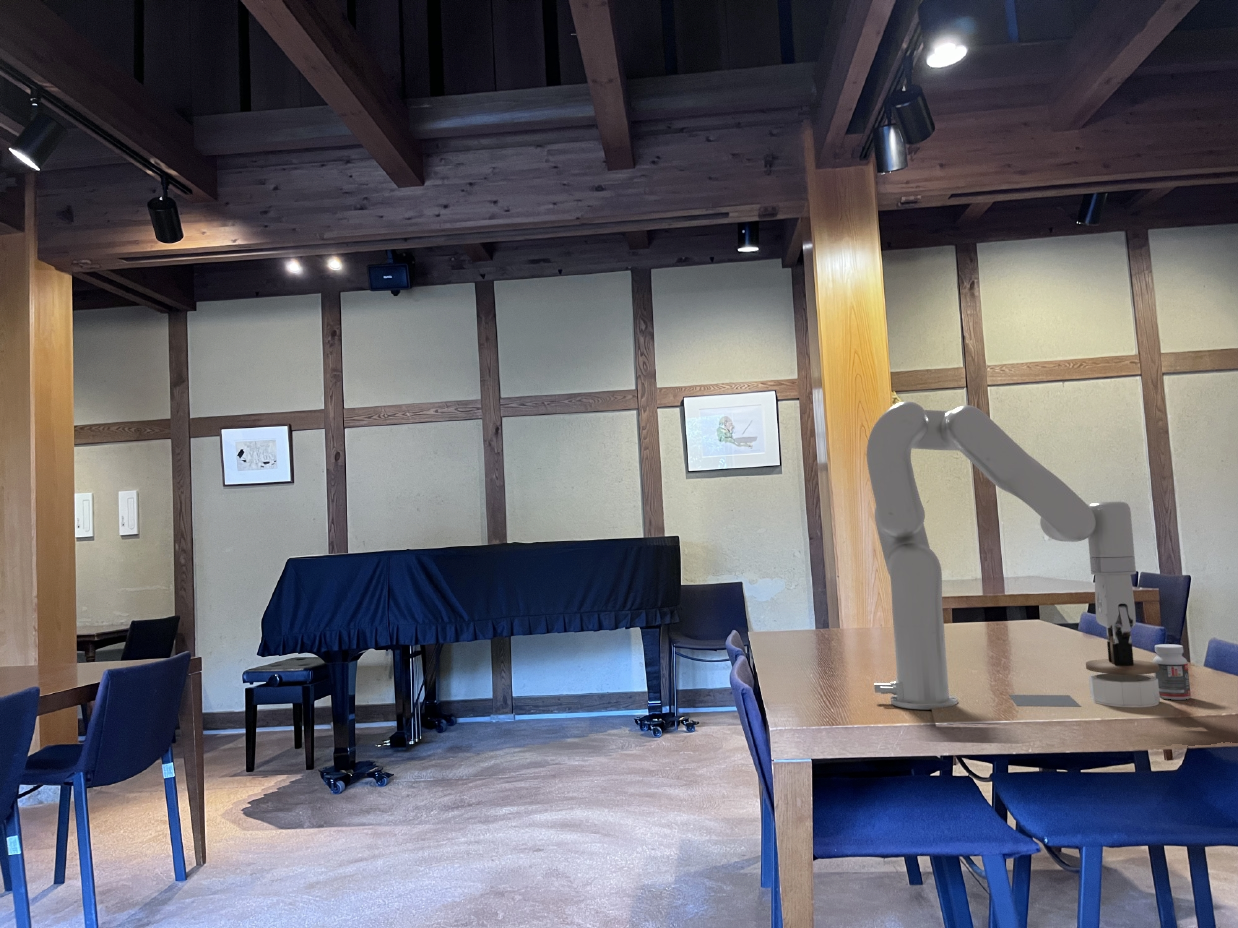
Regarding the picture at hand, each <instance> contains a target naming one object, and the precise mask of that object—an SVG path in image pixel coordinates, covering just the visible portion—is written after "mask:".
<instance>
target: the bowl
mask: <svg viewBox="0 0 1238 928" xmlns="http://www.w3.org/2000/svg"><path fill="white" fill-rule="evenodd" d="M1088 682H1089V683H1088V684H1089V695H1090V696H1089V697H1090V698H1091V701H1092V702H1093V703H1095V704H1099V705H1102V706H1110V707H1119V708H1151V707H1155V706H1157V705H1159V704H1160V701H1161V698H1160V696H1159V685H1158V679H1157V678H1156V677H1154V675H1151V674H1150V675H1149V674H1137V675H1125V674H1108V673H1099V672H1096V673H1092V674H1090V675H1088Z"/></svg>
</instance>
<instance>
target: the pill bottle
mask: <svg viewBox="0 0 1238 928" xmlns="http://www.w3.org/2000/svg"><path fill="white" fill-rule="evenodd" d="M1154 651H1155V653H1156V656H1155V657H1154V658H1153V659H1152V662H1153V663H1156V664H1158V665H1159V671H1158V672H1156V673H1153V674H1154V675H1153V676H1154V677H1156V678H1157V679H1158V685H1159V696H1160V699H1162V700H1168V699H1171V701H1185V700H1186V699H1187V700H1189V699H1191V696H1192V695H1191V686H1190V685H1191V684H1190V675H1189V665H1188V660H1187V658H1185V657H1184V656H1183V653H1184V646H1183V645H1181V644H1169V643H1166V644H1164V643H1162V644H1155V645H1154Z"/></svg>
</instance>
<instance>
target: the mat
mask: <svg viewBox="0 0 1238 928" xmlns="http://www.w3.org/2000/svg"><path fill="white" fill-rule="evenodd" d="M1008 696H1009V697H1010V699H1011V700H1012V701H1013V703H1014V704H1015V705H1016V707H1055V708H1056V707H1060V708H1062V707H1063V708H1064V707H1067V708H1068V707H1069V708H1071V707H1072V708H1074V707H1075V708H1076V707H1077V708H1081V707H1082V705H1080V704H1079V703H1078V702H1077V701H1076V700H1075V699H1074V698H1073V697H1072V696H1071V695H1069V694H1008Z"/></svg>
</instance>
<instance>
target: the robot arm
mask: <svg viewBox="0 0 1238 928" xmlns="http://www.w3.org/2000/svg"><path fill="white" fill-rule="evenodd" d="M913 449H915V450H930V451H931V450H933V451H955V452H956V451H960V453H961V454H962V455H964V457H965V458H967V459H968V460H969V462H971V463H972V464H973V465H974V466H975V467H976V468H977V469H978V470H979V471H980V472H981V473H982V474H983V475H984V476H985V477H986V478H987V479H988V480H989V481H990V482H992V484H994V485H995V486H996V487H998V488H999V489H1001V490H1002V491H1004V492H1006V493H1009V494H1011V495H1012V496H1015V497H1016V498H1018V499H1019V500H1021V501H1022V502H1023V503H1024V504H1026V505H1027V506H1028V507H1029V508H1030V509H1032V510H1033V511H1034V512H1035V513H1036V514H1037V515H1038V516H1039V517H1040V520H1039V521H1040V523H1039V525H1040V527H1041V530H1042V532H1043V533H1044V534H1045V535H1046V536H1047V537H1049V538H1051V539H1053V540H1055V541H1059V542H1071V543H1076V542H1082V541H1085V540H1086V539H1087V540H1088V541H1087V543H1088V551H1089V552H1088V553H1089V565H1090V575H1092V576H1093V575H1095V577H1094V578H1095V579H1094V596H1095V597H1094V599H1095V601H1094V602H1095V620H1096V622H1097V624H1099V625H1100V626H1103V627H1105V628H1106V640H1107V641H1106V647H1107V655H1108V657H1107V659H1109V662H1111V663H1112V659H1111V648H1110V637H1111V636H1113V638H1114V644H1112V648H1113V659H1114V665H1116V666H1133V665H1134V662H1133V660H1134V653H1133V651H1134V650H1133V644H1132V642H1133V640H1132V634H1131V632H1132V628H1134V626H1136V625H1137V624H1136V622H1137V621H1136V620H1137V617H1136V606H1135V598H1134V589H1133V582H1132V576H1131V575H1136V574H1137V569H1136V558H1135V555H1136V554H1135V547H1134V545H1135V544H1134V534H1133V525H1132V524H1133V523H1132V513H1131V511H1132V510H1131V507H1130V505H1129V504H1128V503H1127V502H1125V501H1119V500H1118V501H1097V502H1092V503H1090V504H1087V503H1086V502H1085V501H1084V500H1083V499H1082V498H1081V497H1080V496H1079V495H1078V494H1077V493H1076V492H1074V490H1072V489H1071V488H1070V487H1069V486H1068V485H1067V484H1066V483H1065V482H1064V481H1063V480H1062V479H1060V478H1059V477H1058V476H1056V475H1055V474H1054V473H1053V472H1051V470H1049V469H1047V468H1046V467H1045V466H1044V465H1042V464H1041V463H1040V462H1039V461H1038V460H1036V459H1035V458H1034V457H1032V456H1031V455H1029V453H1027V452H1026V451H1025V450H1024V449H1023V448H1022V447H1021V446H1020V445H1019V444H1018V443H1016V441H1014V440H1013V439H1012V437H1010V436H1009V435H1008V434H1007V433H1006V432H1005V431H1004V430H1003V429H1002V428H1001V427H1000V426H999V425H998V424H996V423H995V421H994V420H992V419H991V417H989V415H987V414H986V413H985V412H984V411H983V410H982V409H979V408H978V407H976V406H973V405H969V404H968V405H962V406H958V407H956V408H954V409H952V410H938V409H937V410H936V409H935V410H933V409H924V408H923V407H922V406H921V405H920V404H918V403H916V402H914V401H908V400H907V401H901V402H898V403H896V404H894V405H892V406H891V407H889V408H888V409H887V410H886V411H885V412H884V413H883V414H882V415H881V416H880V417H879V418H878V419H877V421H876V422H875V424H874V426H873V427H872V429H871V431H870V433H869V436H868V441H867V446H866V462H867V469H868V474H869V478H870V485H871V489H872V493H873V498H874V503H875V508H874V521H875V526H876V531H877V534H878V538H879V543H880V546H881V550H882V555H883V558H884V559H883V560H884V562H885V566H886V570H887V572H888V574H889V576H890V589H891V591H890V592H891V609H892V624H893V637H894V652H895V667H896V678H895V681H890V683H883V682H879V683H878V682H874V683H873V685H874V687H873V688H874V693H876V694H880V695H885V694H891V695H892V696H891V697H890V704H891V705H893V706H895V707H898V708H902V709H909V710H922V711H923V710H925V711H926V710H927V711H929V710H931V711H932V709H937V708H938V709H939V708H947V707H948V708H949V707H952V706H956V705H957V704H958V703H959V699H958V698H957V696H955V695H951V694H950V691H949V690H950V689H949V678H948V664H947V650H946V637H945V623H944V612H943V611H944V610H943V576H942V575H943V574H942V573H943V572H942V567H941V563H940V560H939V557H938V556H937V554H936V553H935V552H934V551H933V550H932V549H931V548H930V543H929V539H928V537H927V533H926V528H925V524H924V523H925V519H926V518H925V517H926V514H925V508H924V505H923V503H922V500H921V496H920V494H919V490H918V486H917V482H916V478H915V473H914V468H913V464H912V459H911V458H912V457H911V453H912V450H913Z"/></svg>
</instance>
